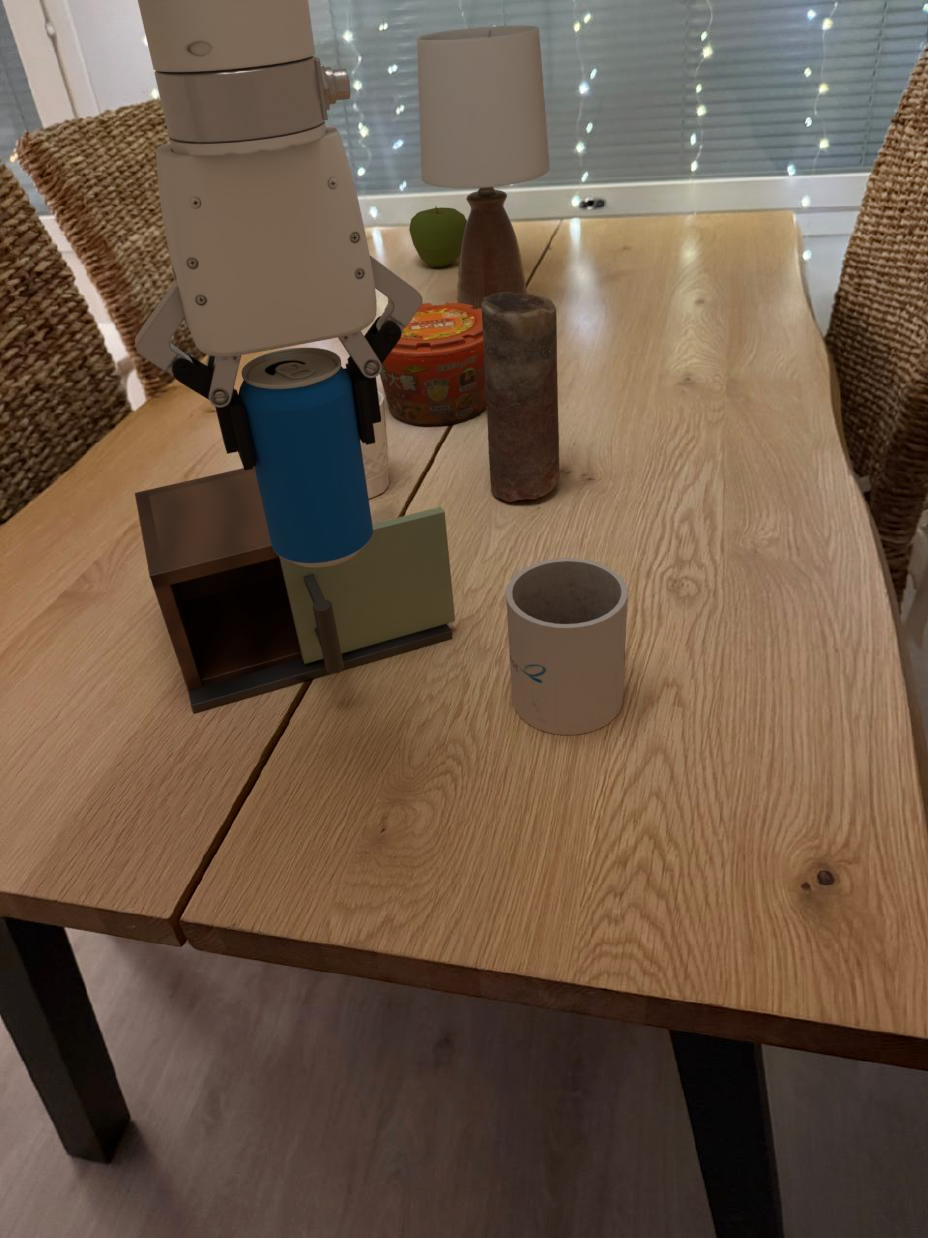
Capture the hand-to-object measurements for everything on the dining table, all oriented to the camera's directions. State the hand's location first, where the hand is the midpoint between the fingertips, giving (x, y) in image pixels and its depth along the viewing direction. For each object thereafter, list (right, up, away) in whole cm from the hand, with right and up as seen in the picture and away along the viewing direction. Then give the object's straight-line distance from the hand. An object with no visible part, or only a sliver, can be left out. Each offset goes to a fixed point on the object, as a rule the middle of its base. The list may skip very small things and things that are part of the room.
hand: (305, 445), depth 55 cm
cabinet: (-5, -11, +27) cm, 29 cm away
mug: (+17, -15, +18) cm, 29 cm away
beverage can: (0, -6, +4) cm, 7 cm away
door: (+3, -13, +20) cm, 25 cm away
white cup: (-2, +4, +47) cm, 47 cm away
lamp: (+14, +39, +91) cm, 100 cm away
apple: (+5, +54, +112) cm, 124 cm away
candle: (+16, +3, +44) cm, 47 cm away
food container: (+6, +17, +63) cm, 65 cm away
